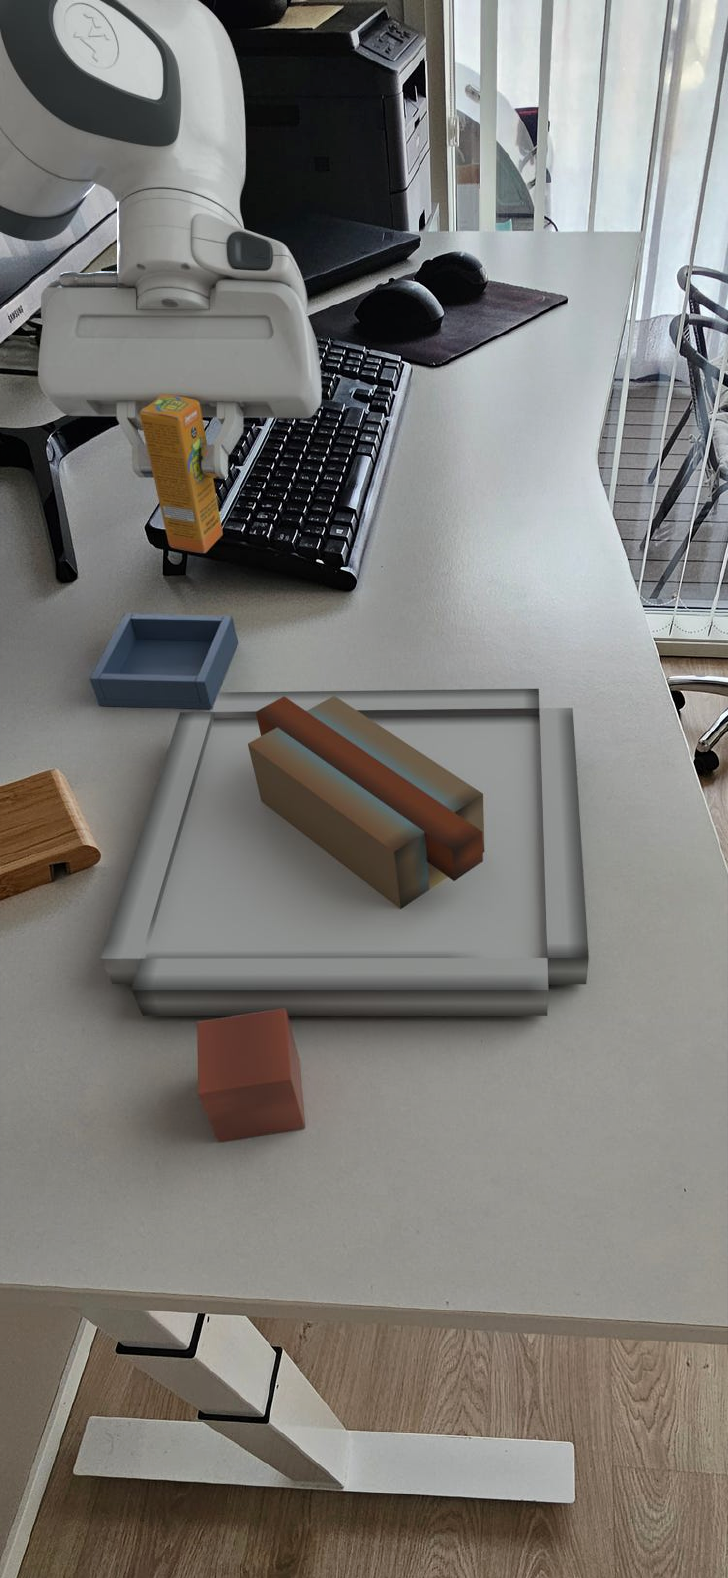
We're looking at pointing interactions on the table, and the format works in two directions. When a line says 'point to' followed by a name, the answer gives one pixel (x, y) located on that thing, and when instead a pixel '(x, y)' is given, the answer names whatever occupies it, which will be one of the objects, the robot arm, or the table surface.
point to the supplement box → (181, 472)
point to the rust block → (250, 1075)
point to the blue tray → (165, 661)
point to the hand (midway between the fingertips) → (180, 475)
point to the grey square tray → (358, 858)
